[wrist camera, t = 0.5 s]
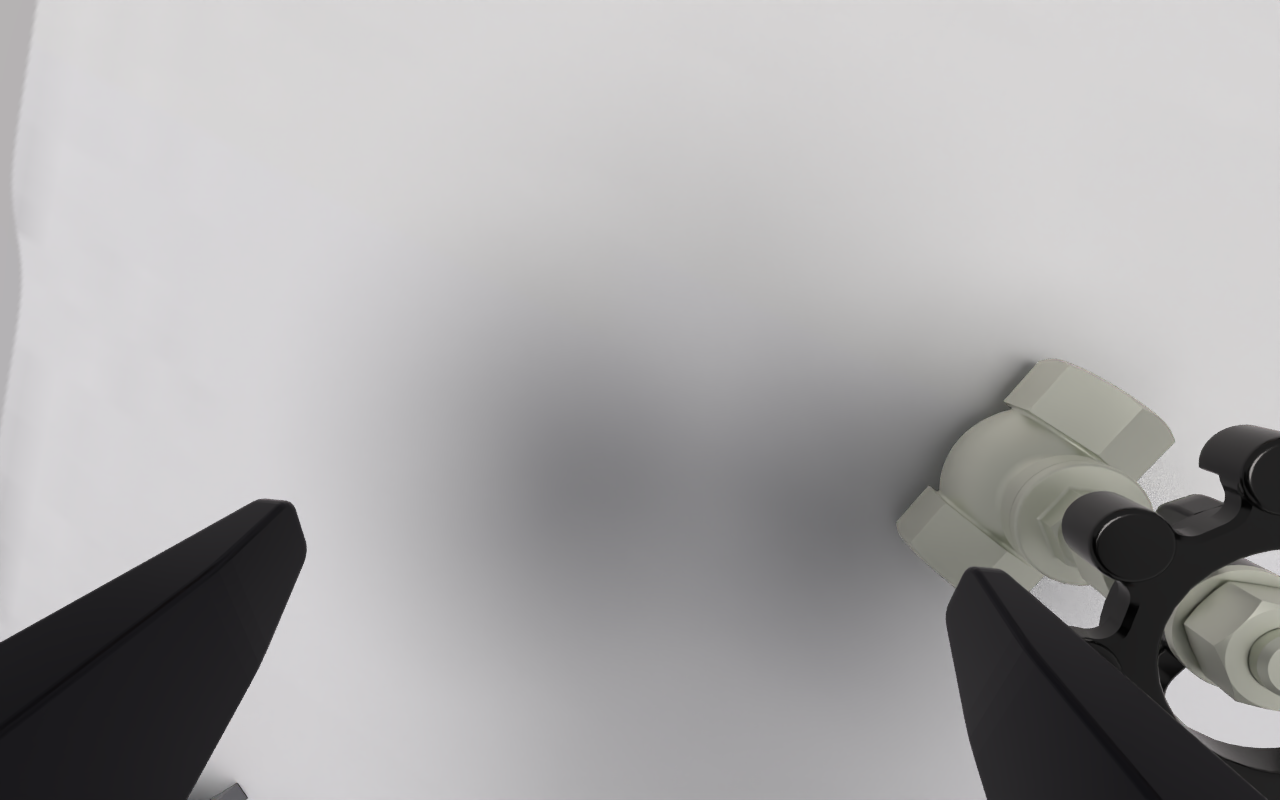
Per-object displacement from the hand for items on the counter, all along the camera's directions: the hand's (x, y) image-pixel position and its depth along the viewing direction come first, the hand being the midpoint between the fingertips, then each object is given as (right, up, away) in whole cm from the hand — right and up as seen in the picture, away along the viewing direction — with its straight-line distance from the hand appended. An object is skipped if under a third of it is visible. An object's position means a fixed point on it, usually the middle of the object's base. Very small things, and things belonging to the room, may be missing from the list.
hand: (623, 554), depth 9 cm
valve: (+12, 0, +12) cm, 17 cm away
